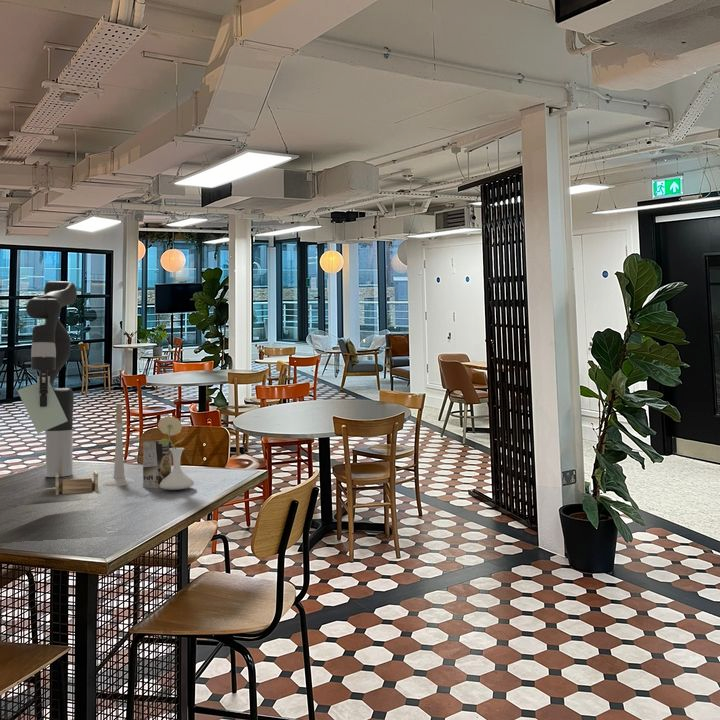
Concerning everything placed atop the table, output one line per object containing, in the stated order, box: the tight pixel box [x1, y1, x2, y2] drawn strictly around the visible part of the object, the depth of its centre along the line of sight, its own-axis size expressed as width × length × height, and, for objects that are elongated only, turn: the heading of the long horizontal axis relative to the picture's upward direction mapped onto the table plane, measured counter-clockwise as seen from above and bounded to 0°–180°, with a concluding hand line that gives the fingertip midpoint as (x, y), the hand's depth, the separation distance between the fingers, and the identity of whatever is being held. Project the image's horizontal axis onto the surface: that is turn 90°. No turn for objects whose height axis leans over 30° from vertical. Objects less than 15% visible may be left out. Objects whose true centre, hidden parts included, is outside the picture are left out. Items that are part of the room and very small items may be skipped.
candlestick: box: [101, 403, 136, 487], centre depth 227 cm, size 13×13×30 cm
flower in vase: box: [157, 415, 195, 491], centre depth 213 cm, size 13×11×25 cm
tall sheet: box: [16, 381, 68, 434], centre depth 213 cm, size 3×10×16 cm, turn 117°
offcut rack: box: [55, 470, 99, 496], centre depth 213 cm, size 10×13×6 cm
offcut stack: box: [61, 477, 93, 495], centre depth 212 cm, size 4×9×4 cm, turn 116°
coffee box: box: [142, 439, 172, 489], centre depth 222 cm, size 9×6×16 cm
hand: (43, 406), depth 213 cm, fingers closed on tall sheet, 3 cm apart
